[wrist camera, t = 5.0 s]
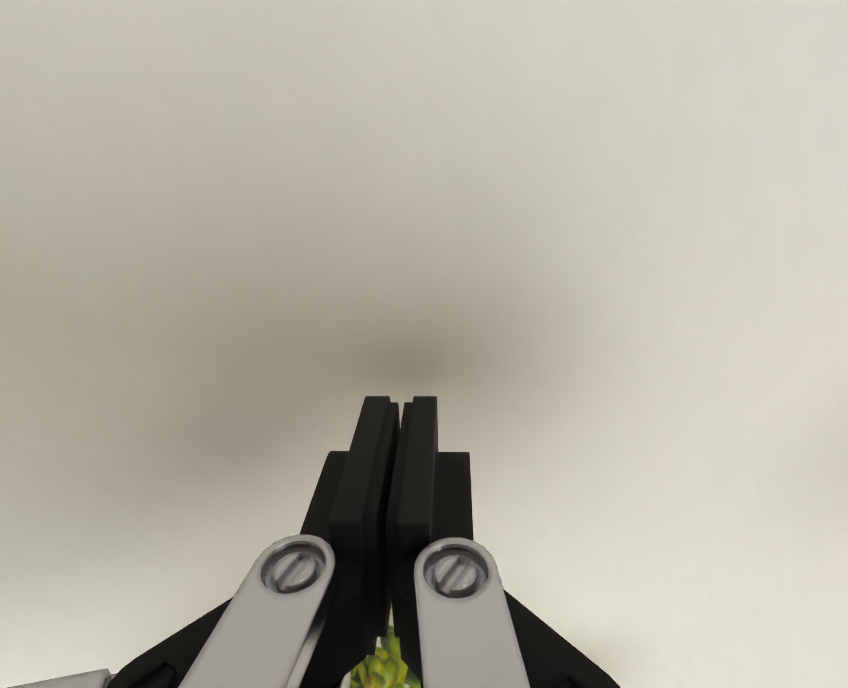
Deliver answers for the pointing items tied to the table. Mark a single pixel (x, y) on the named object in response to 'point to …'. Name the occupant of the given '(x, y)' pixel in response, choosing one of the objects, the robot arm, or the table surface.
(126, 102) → the table surface
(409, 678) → the pitcher
